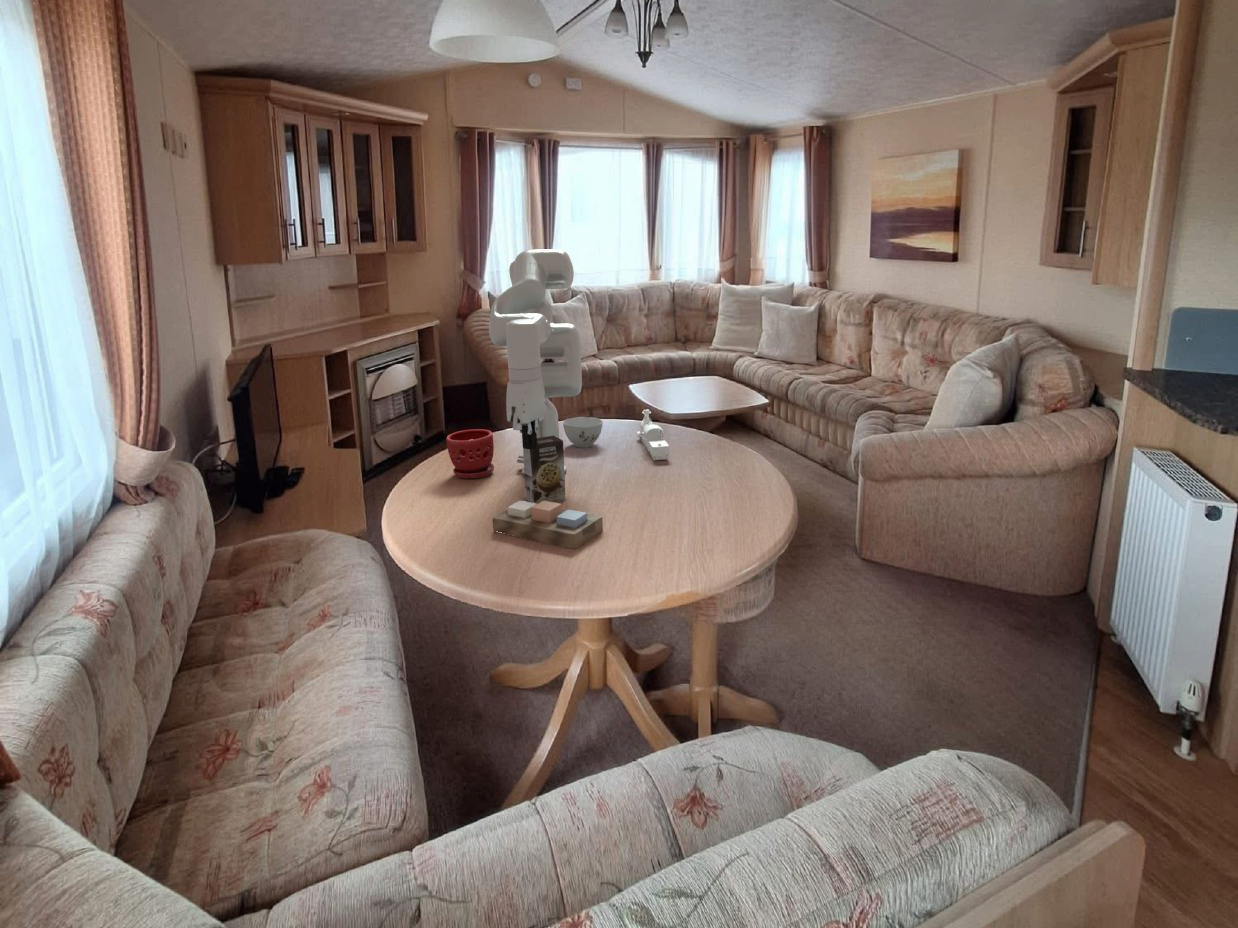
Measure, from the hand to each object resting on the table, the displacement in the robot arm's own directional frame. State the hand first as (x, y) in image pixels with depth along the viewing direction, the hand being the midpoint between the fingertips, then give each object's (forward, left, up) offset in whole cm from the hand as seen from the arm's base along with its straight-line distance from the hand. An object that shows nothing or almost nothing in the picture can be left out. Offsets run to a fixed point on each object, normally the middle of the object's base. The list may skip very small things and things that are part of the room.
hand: (530, 448), depth 195 cm
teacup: (-23, +59, -18) cm, 66 cm away
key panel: (+8, -6, -18) cm, 21 cm away
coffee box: (-5, +12, -18) cm, 22 cm away
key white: (+1, -6, -16) cm, 17 cm away
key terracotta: (+8, -6, -15) cm, 18 cm away
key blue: (+15, -6, -16) cm, 23 cm away
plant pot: (-36, +20, -18) cm, 45 cm away
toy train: (-1, +65, -18) cm, 67 cm away
